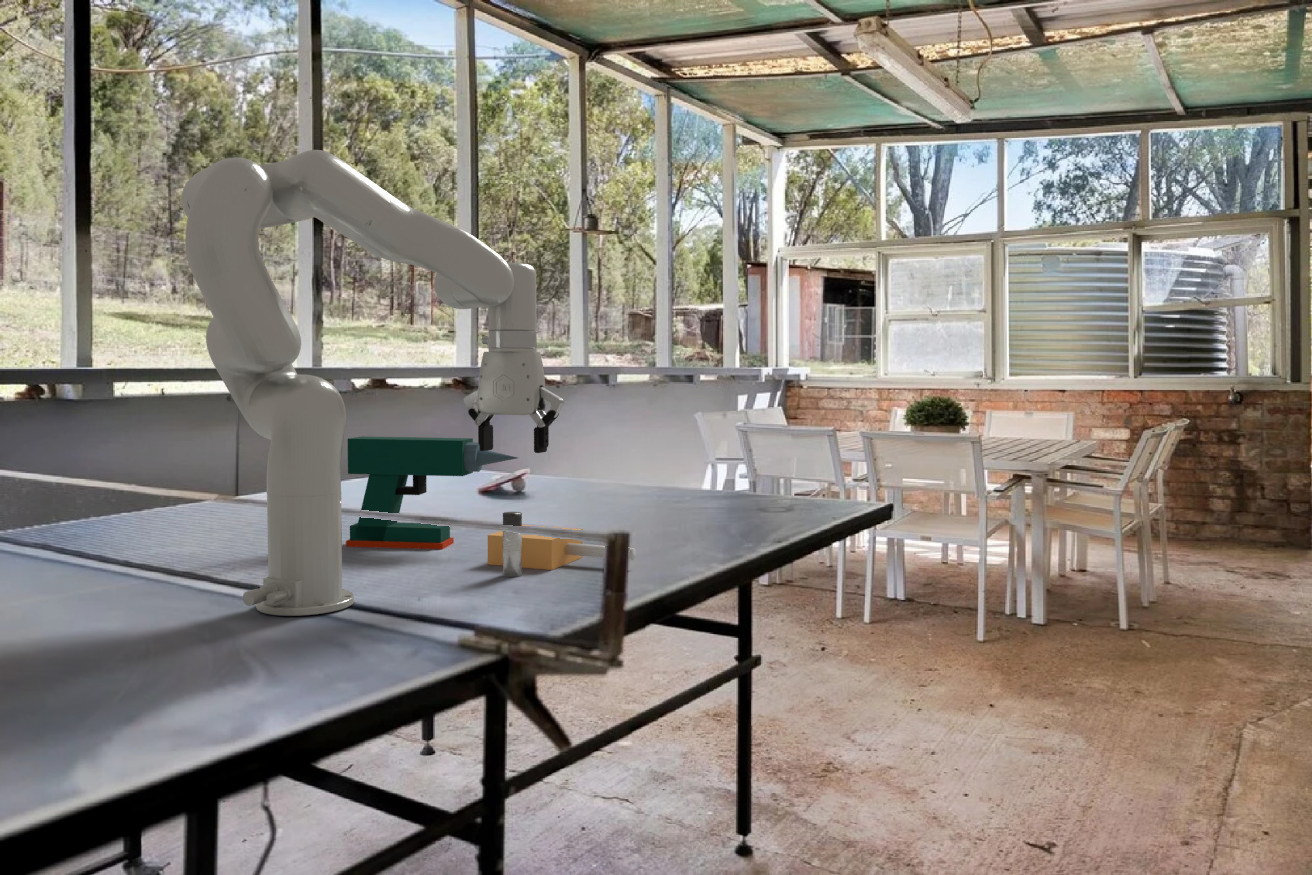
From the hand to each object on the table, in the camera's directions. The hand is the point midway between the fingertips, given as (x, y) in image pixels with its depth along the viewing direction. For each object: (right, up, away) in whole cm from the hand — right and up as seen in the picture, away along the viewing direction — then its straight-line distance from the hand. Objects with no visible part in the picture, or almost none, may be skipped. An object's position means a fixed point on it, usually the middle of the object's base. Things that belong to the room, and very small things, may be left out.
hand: (513, 451), depth 152 cm
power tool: (-18, -18, +27) cm, 37 cm away
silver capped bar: (0, -20, +1) cm, 20 cm away
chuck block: (+8, -19, +11) cm, 23 cm away
